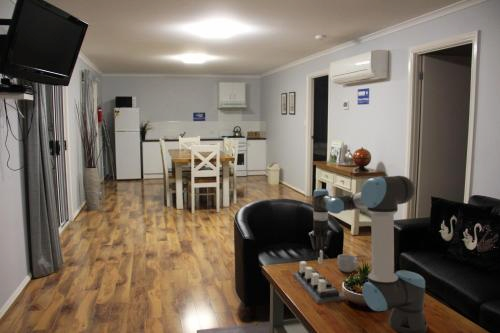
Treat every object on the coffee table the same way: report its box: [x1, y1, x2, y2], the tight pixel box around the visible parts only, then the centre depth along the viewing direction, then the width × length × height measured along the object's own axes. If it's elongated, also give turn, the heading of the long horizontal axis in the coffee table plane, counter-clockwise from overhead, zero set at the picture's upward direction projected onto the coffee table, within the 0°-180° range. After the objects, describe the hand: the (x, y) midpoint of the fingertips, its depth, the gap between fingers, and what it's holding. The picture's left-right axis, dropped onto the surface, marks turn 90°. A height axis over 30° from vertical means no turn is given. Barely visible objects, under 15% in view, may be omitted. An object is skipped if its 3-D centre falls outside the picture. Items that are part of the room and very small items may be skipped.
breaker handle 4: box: [318, 279, 326, 292], centre depth 194 cm, size 3×3×5 cm
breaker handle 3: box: [311, 273, 319, 285], centre depth 201 cm, size 3×3×5 cm
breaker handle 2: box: [305, 266, 314, 279], centre depth 209 cm, size 3×3×5 cm
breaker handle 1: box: [299, 260, 308, 273], centre depth 217 cm, size 3×3×5 cm
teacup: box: [337, 253, 359, 273], centre depth 227 cm, size 14×11×8 cm
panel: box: [293, 268, 345, 304], centre depth 207 cm, size 32×14×4 cm, turn 15°
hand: (320, 262), depth 209 cm, fingers closed
